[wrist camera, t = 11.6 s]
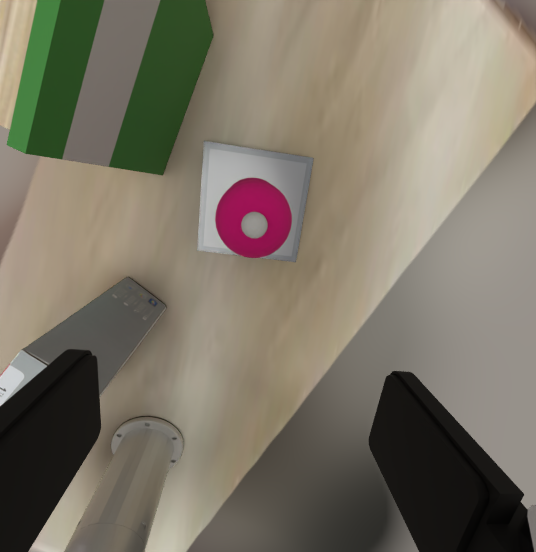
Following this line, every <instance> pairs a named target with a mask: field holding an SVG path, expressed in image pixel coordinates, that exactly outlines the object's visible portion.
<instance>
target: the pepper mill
mask: <svg viewBox="0 0 536 552" xmlns="http://www.w3.org/2000/svg"><path fill="white" fill-rule="evenodd" d="M215 222H216V228H217V231H218V234H219V236H220V238H221V240H222V241H223V243H224V244H225V245H226V246H227V247H228V248H229V249H230V250H231V251H233V252H235V253H236V254H238V255H241V256H244V257H249V258H260V257H264V256H268V255H270V254H272V253H274V252H275V251H276V250H278V249H279V248H280V247H281V246H282V245H283V244H284V242H285V241H286V239H287V237H288V235H289V233H290V230H291V225H292V214H291V209H290V206H289V204H288V201H287V200H286V198H285V196H284V195H283V194H282V193H281V191H280V190H278V189H277V188H276V187H275V186H273V185H271V184H270V183H269V182H267V181H265V180H263V179H260V178H252V177H251V178H245V179H241V180H239V181H237V182H236V183H234V184H233V185H232V186H231V187H230V188H229V189H228V190H227V191H226V192H225V193H224V195H223V196H222V197H221V199H220V201H219V203H218V205H217V209H216V214H215Z"/></svg>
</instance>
